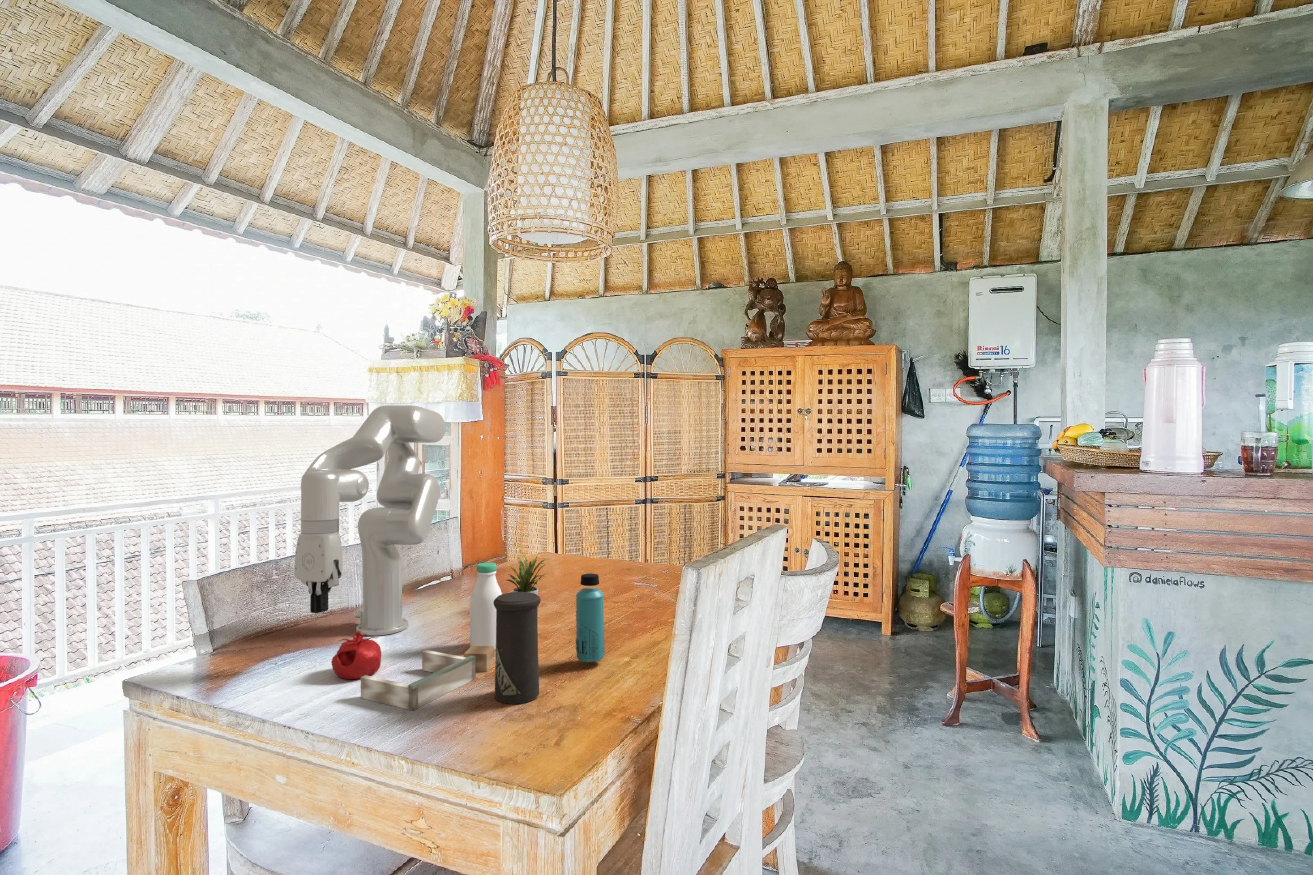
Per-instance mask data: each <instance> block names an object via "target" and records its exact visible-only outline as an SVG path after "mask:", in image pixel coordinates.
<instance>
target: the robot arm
mask: <svg viewBox="0 0 1313 875" xmlns="http://www.w3.org/2000/svg"><path fill="white" fill-rule="evenodd" d="M446 429H447V428H446V422H445V419H444V418H443V416H442V415H441V413H439V412H436V411H434V410H430V409H428V408H425V407H422V406H419V405H397V404H396V405H392V404H391V405H380V406H378V407H376V408H374V409H373V410H372V411H371V413H370V414H369V415H368V417H367V418H366V419H365V420H364V422H363V423H362V424H361V426H359V428H358V429H357V431H356V432H355V434H354V435H352V437H351V438H348V439H346V440H343V441H342V442H340V443H338V444H336V445H334V446H333V447H330V448H328V449H327V450H325V451H323V452H322V453H320V454H319V455H318V456H317V457H316V458H315V459H313V462H312V463H311V464H310V465H309V466H308V468H307V469H306V471H305V472H304V474H302V476H301V479H300V480H301V481H300V534H298V538H297V542H296V547H295V557H294V573H293V574H294V578H296V579H297V580H300V582H301V583H302V584H304V585H306V587H307V590H308V594H309V595H310V603H309V604H310V605H309V606H310V608H309V609H310V610H309V611H310V613H311V614H320V613H323V612H327V611H328V610H329V594H330V593H331V591H332V590H331V589H332V588H334V587H338V586H339V585H340V582H339V581H340V580H339V579H340V578H341V577H342V576H343V575H342V574H343V568H344V567H343V549H342V540H341V535H340V503H354V502H358V501H359V500H361V499H363V498H364V497H365V496H366V495H367V494H368V491H369V486H370V483H369V479H368V477H367V476H366V475H365V474H364V473H363V472H362V471H360V470H358V468H360V467H364V466H365V467H366V466H368V465H371V464H373V463H376V462H378V461H380V460H381V459H383V457H384V456H385V455H386V453H387V454H388V457H387V459H388V460H387V463H386V466H385V468H384V471H383V473H382V477H381V479H380V482H379V484H378V487H377V491H376V501H377V502H378V504H379V506H380V505H381V507H378V506H377V507H372V508H369V509H367V510H365V511H364V512H362V513H361V515H360V516H359V518H358V521H357V531H358V532H357V533H358V537H359V541H360V542H359V543H360V547H361V558H362V560H361V562H362V564H361V565H362V573H361V574H362V608H360V609H359V610H358V612H355V614H354V618H355V619H360V620H359V621H360V623H358V624H357V625H356V628H355V633H356V632H357V631H361V634H360V636H362V635H363V634H366V635H365V636H367V637H368V636H369V637H370V636H371V637H375V636H386V635H392V634H396V633H399V632H402V631H404V630H406V629H407V628H408V627H409V625H410V623H409V620H408V619H405V618H403V561H402V556H401V553H400V552H399V550H398V549H397V547H396V546H395V545H397V546H404V545H405V546H414V545H415V546H416V545H420V544H422V543H423V542H424V541H425V540H426V539H427V537H428V535H429V533H430V532H429V531H430V530H431V529H430V528H431V525H432V522H433V519H434V517H435V516H434V515H435V512H436V509H437V506H438V503H439V502H438V501H439V497H440V485H439V481H438V479H437V478H436V477H435V476H434V475H433V474H430V473H424V472H423V473H421V472H420V473H419V471H420V469H421V468H420V467H421V460H420V458H419V456H418V455H417V453H416V451H415V450H414V449H413V448H412V446H411V443H412V444H415V443H419V444H420V443H421V444H422V443H423V444H425V443H426V444H427V443H429V444H432V443H433V444H435V443H437V442H440V441H441V440H442V439H443V438H444V437H445V434H446ZM356 468H357V470H356Z"/></svg>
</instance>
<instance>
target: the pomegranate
mask: <svg viewBox="0 0 1313 875" xmlns="http://www.w3.org/2000/svg"><path fill="white" fill-rule="evenodd" d="M365 636H367V635H366V634H363V635H361V631H357V632H356V631H355V635H352V636H350V637H351V638H352V639H349V638H343V639H340V640H338V641H340V642H341V641H343V642H342V643H341V645H340V646H339V648H338V649H337V651H336V653H335V655H334V656H333V657H332V659H331V661H330V663H331V667H332V670H333V672H334V674H335V675H336V676H338V678H339V677H340V678H342V679H345V680H357V679H360V680H361V677H363V676H365V675H367V676H372V675H374V674H376V673H377V672H378V671H379V669H380V668H381V664H382V649H381V646H380V644H378V642H377V641H375V640H373V639H376V637H375V636H371V637H368V638H364V637H365Z"/></svg>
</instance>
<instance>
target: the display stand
mask: <svg viewBox="0 0 1313 875" xmlns="http://www.w3.org/2000/svg"><path fill="white" fill-rule="evenodd" d="M421 660H422V661H421V664H422V666H421V667H422V668H421V669H422V670H421V671H426V672H430V673H431V674H428V675H426V676H425V677H422V678H420V679H418V680H416V681H413V682H411V683H410V684H407V683H402V682H398V681H394V680H390V679H384V678H380V677H377V676H376V677H375V676H372V675H370V676H367V675H365V676H363V677H361V678H360V698H361V699H365V700H369V701H372V702H377V703H382V704H385V705H389V706H393V707H397V708H401V709H405V710H409V711H415V710H417V709H419V708H421V707H423V706H425V705H427V704H428V703H431V702H433V701H434V700H437V699H438V698H440V697H441V698H442V696H444V695H446V694H448V693H450V692H452V691H454V690H456V689H458V688H460V687H462V686H464V685H466V684H468V683H469V682H472V681H473V680H475V679H477V676H476V675H477V672H476V656H469V657H467V658H466V657H464V656H460V655H454V654H451V653H449V654H448V653H444V652H439V651H433V650H427V649H425V650H424V651H422V652H421Z"/></svg>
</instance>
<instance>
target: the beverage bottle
mask: <svg viewBox="0 0 1313 875" xmlns="http://www.w3.org/2000/svg"><path fill="white" fill-rule="evenodd" d="M580 585H581V586H584V588H581V589H579V591H578V592H577V593H576V594H575V599H576V602H575V603H576V608H575V620H576V621H575V622H576V626H575V627H576V628H575V630H576V631H575V633H576V634H575V635H576V636H575V645H576V646H575V656H576V658H577V660H578V661H580V662H584V663H585V662H587V663H592V662H599V661H601V660H603V659H604V657H605V653H606V651H605V647H606V644H605V616H604V615H605V611H604V610H605V607H604V606H605V604H604V603H605V602H604V601H605V600H604V599H605V598H604V597H605V594H604V592H603V591H602V590H601V589H599V588H597V587H592V586H598V585H600V576H599V573H592V572H591V573H590V572H589V573H584V574H581V576H580ZM585 586H586V587H585Z"/></svg>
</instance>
